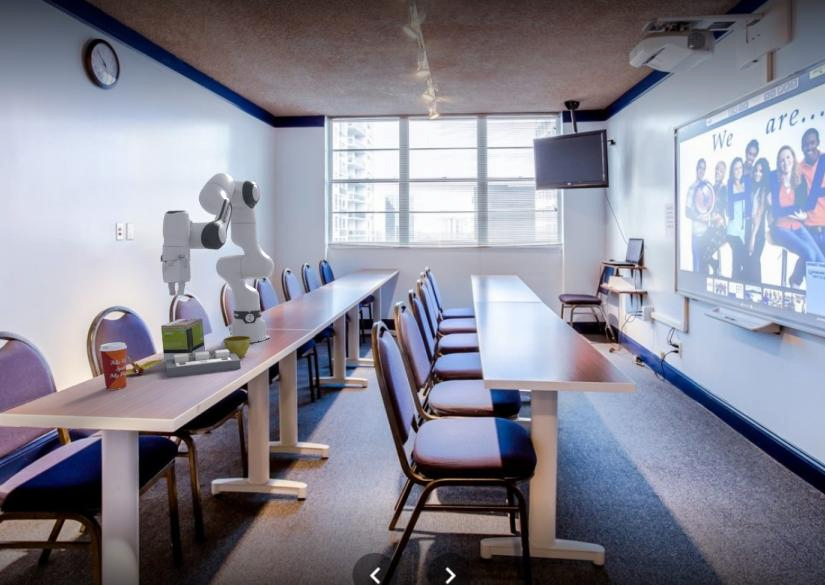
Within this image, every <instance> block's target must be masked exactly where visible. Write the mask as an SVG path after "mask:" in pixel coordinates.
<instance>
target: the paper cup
mask: <svg viewBox="0 0 825 585" xmlns="http://www.w3.org/2000/svg"><path fill="white" fill-rule="evenodd" d="M127 348H128V346H127V345H126V343H125V342H121V341H118V342H108V343H103V344H101V345H100V348H99V350H98V351H100V357H101V362H102V370H103V376H104V383H105V387H106V390H107V389H117V390H120V389H119V388H122V389H124V388H126V387H127V374H126V370H127ZM125 386H126V387H125ZM123 387H124V388H123Z"/></svg>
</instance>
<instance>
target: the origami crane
mask: <svg viewBox="0 0 825 585" xmlns="http://www.w3.org/2000/svg"><path fill="white" fill-rule="evenodd" d="M126 360H128V361H129V364H130V365H131V366H132V367H133V368H128V369H127V368H126V375H131V374H138V375H137V376H142V375H141V374H144V371H145V370H148V369H149V368H151V367H152V366H155V365H156V364H158V363H161V362H163V361H164V358H163V359H156V360H155V359H154V360H150V361H147V362H145V363H143V364H138V363H135V361H133V360H132V358H131V357H129V356H128V355H126ZM136 372H138V373H136Z"/></svg>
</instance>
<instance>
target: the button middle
mask: <svg viewBox="0 0 825 585" xmlns="http://www.w3.org/2000/svg"><path fill="white" fill-rule="evenodd" d="M209 355H210V352H209V351H208V350H207V351H206V350H205V352H196V353H195V361H199V360H208V359H210V356H209Z"/></svg>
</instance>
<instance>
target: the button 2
mask: <svg viewBox="0 0 825 585" xmlns="http://www.w3.org/2000/svg"><path fill="white" fill-rule="evenodd" d="M214 355H215V358H216V359H217V358H226V357H230V352H229V350H228V349H226V348H225V349H217V350H214Z"/></svg>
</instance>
